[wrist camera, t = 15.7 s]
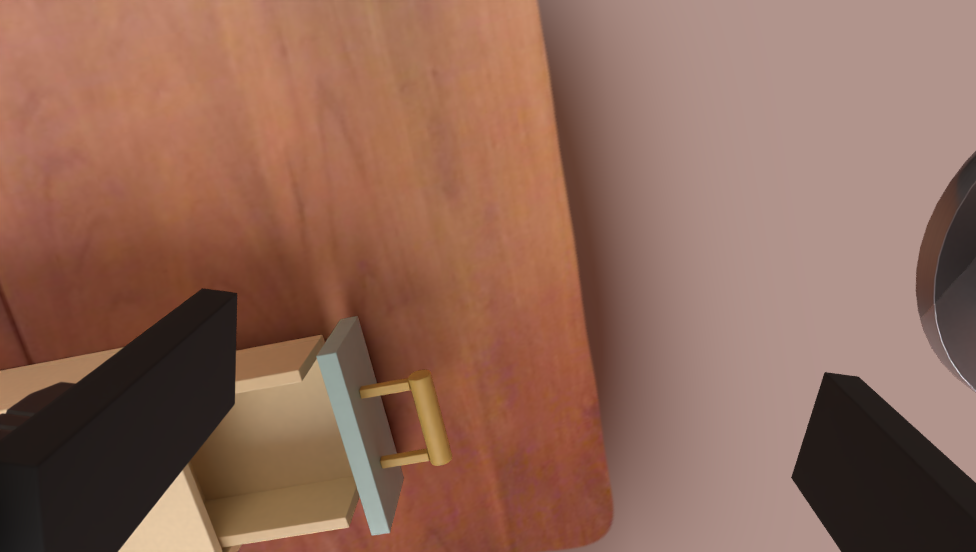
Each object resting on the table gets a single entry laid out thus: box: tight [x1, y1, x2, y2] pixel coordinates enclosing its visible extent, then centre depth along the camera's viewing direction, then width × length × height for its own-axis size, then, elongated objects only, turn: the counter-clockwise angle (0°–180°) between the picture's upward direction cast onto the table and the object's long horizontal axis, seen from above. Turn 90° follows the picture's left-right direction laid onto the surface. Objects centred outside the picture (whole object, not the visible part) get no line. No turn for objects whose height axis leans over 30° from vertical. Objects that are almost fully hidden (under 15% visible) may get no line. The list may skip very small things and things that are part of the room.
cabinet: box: [0, 347, 242, 552], centre depth 44 cm, size 16×14×8 cm
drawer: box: [188, 316, 452, 548], centre depth 43 cm, size 19×12×6 cm, turn 102°
